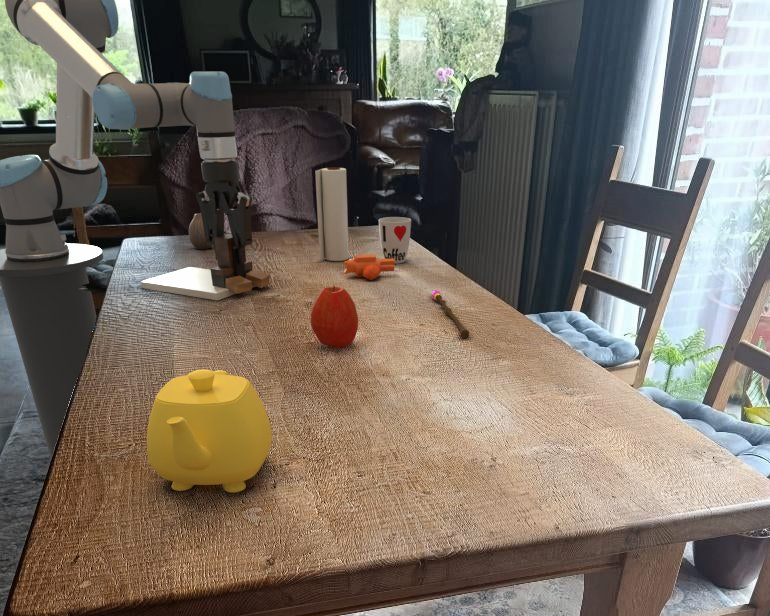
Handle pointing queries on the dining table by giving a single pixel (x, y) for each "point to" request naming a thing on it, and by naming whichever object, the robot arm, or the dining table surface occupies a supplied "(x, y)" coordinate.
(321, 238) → the paper towel roll
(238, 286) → the brown wooden block
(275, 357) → the dining table surface
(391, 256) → the cup
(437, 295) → the magic wand
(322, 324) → the apple
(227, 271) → the wooden toy block
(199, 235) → the vase
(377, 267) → the orange toy bird
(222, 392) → the teapot
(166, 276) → the board
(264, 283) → the tan wooden block
